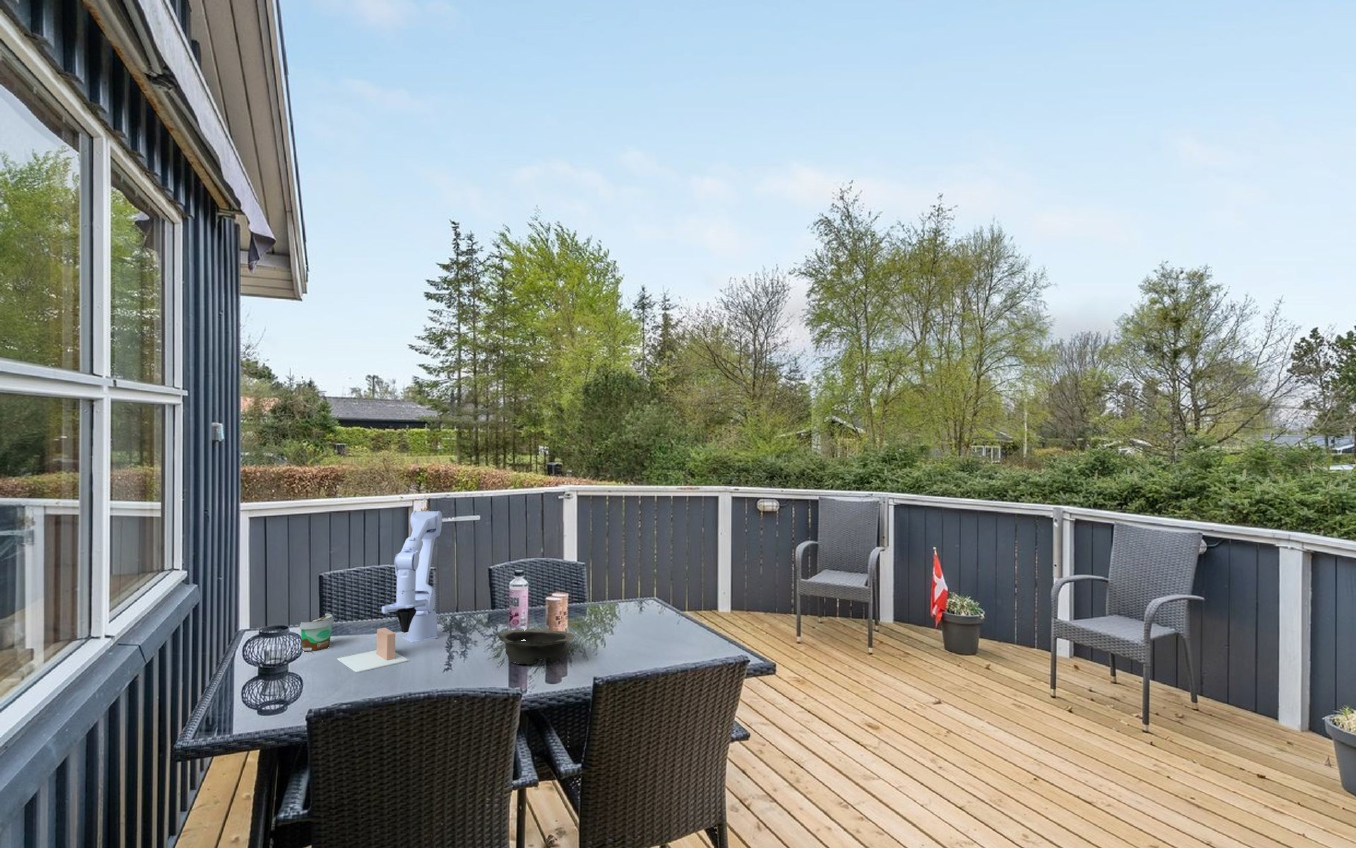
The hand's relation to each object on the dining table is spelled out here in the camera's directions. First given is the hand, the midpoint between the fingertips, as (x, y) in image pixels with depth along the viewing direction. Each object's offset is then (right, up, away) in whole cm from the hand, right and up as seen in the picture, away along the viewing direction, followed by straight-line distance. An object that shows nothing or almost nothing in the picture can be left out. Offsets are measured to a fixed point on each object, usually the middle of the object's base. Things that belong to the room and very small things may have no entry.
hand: (405, 631), depth 222 cm
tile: (-4, -7, -4) cm, 9 cm away
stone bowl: (+42, -8, 0) cm, 43 cm away
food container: (-28, -7, +3) cm, 29 cm away
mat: (-7, -7, -7) cm, 12 cm away
